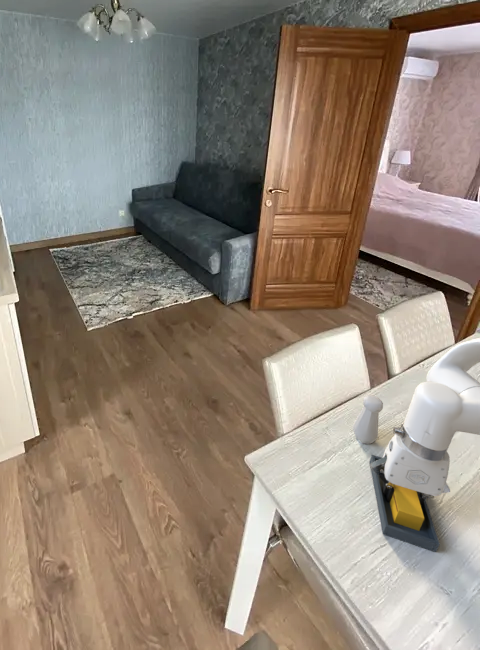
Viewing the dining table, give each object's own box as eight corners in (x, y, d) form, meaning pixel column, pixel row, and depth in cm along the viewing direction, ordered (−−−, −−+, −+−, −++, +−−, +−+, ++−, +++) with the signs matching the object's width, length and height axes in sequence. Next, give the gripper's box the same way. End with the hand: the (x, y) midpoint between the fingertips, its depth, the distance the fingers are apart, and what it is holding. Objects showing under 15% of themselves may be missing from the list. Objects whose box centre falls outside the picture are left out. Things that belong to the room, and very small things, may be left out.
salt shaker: (378, 436, 90) (390, 399, 85) (372, 451, 86) (384, 413, 81) (354, 423, 94) (364, 387, 89) (347, 437, 90) (358, 400, 85)
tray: (412, 474, 81) (415, 466, 80) (435, 552, 67) (439, 544, 66) (369, 461, 84) (371, 454, 83) (382, 534, 69) (385, 526, 69)
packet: (419, 531, 70) (424, 518, 68) (393, 522, 71) (398, 510, 69) (405, 479, 79) (409, 467, 78) (383, 472, 81) (387, 461, 79)
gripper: (378, 443, 67) (359, 503, 74) (483, 471, 62) (452, 533, 69) (372, 413, 74) (355, 470, 81) (466, 436, 69) (439, 495, 76)
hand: (400, 498), depth 75 cm, fingers closed on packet, 4 cm apart
